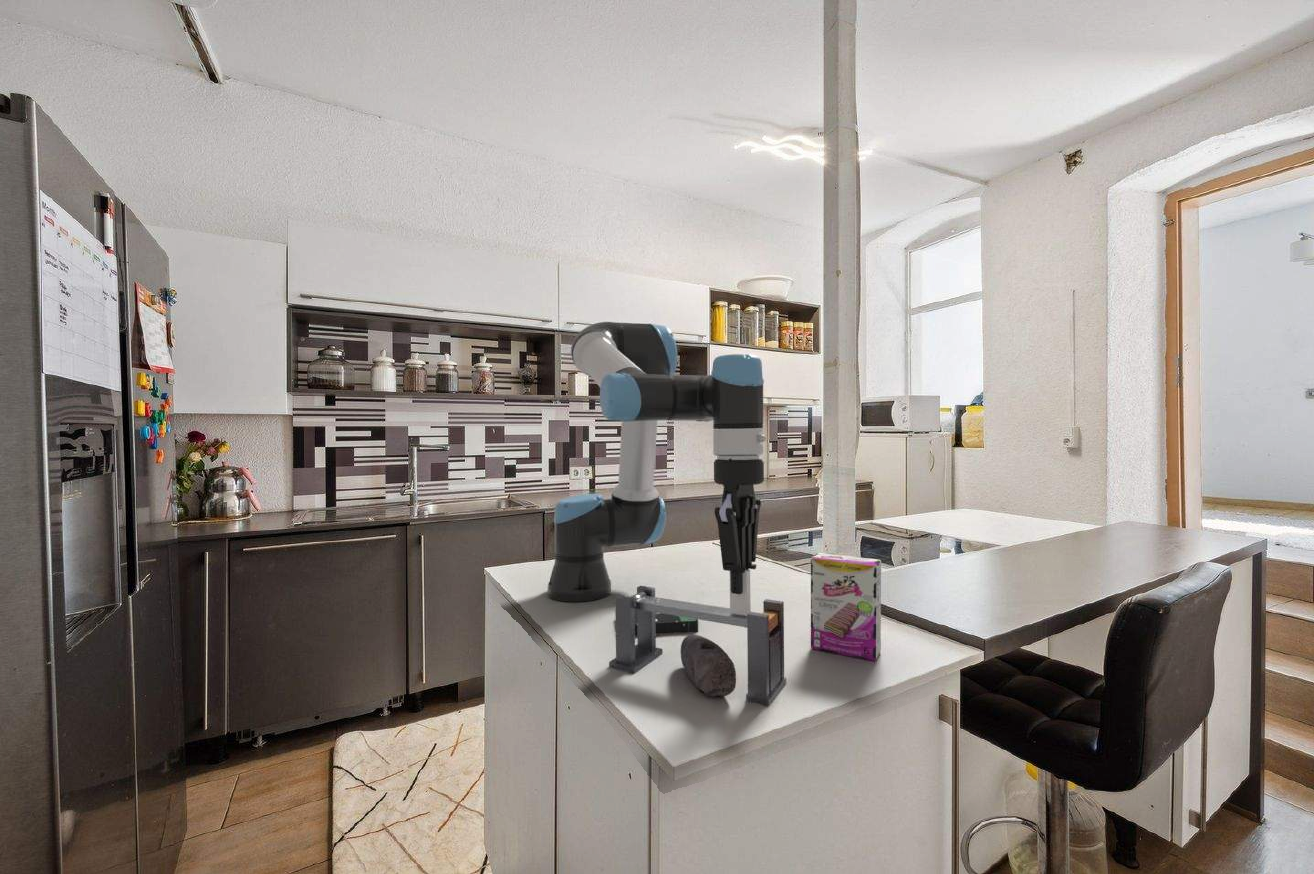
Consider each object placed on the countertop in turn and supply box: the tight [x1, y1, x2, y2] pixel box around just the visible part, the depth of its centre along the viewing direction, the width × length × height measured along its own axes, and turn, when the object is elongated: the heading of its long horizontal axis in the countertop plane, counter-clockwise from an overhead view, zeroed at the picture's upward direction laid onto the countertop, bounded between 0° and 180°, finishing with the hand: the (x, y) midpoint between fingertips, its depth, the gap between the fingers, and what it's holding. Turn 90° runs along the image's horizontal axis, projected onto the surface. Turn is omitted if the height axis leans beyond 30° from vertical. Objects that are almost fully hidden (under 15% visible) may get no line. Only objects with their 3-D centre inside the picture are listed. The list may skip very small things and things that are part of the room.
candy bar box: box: [810, 552, 882, 662], centre depth 96 cm, size 11×5×16 cm, turn 59°
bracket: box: [608, 585, 664, 674], centre depth 93 cm, size 9×5×12 cm, turn 149°
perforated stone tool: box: [680, 634, 737, 698], centre depth 85 cm, size 15×5×7 cm, turn 17°
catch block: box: [745, 598, 787, 707], centre depth 81 cm, size 8×3×12 cm, turn 149°
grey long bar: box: [630, 592, 778, 633], centre depth 87 cm, size 5×25×2 cm, turn 59°
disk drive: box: [635, 609, 699, 637], centre depth 110 cm, size 10×3×15 cm
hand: (740, 612), depth 83 cm, fingers closed
